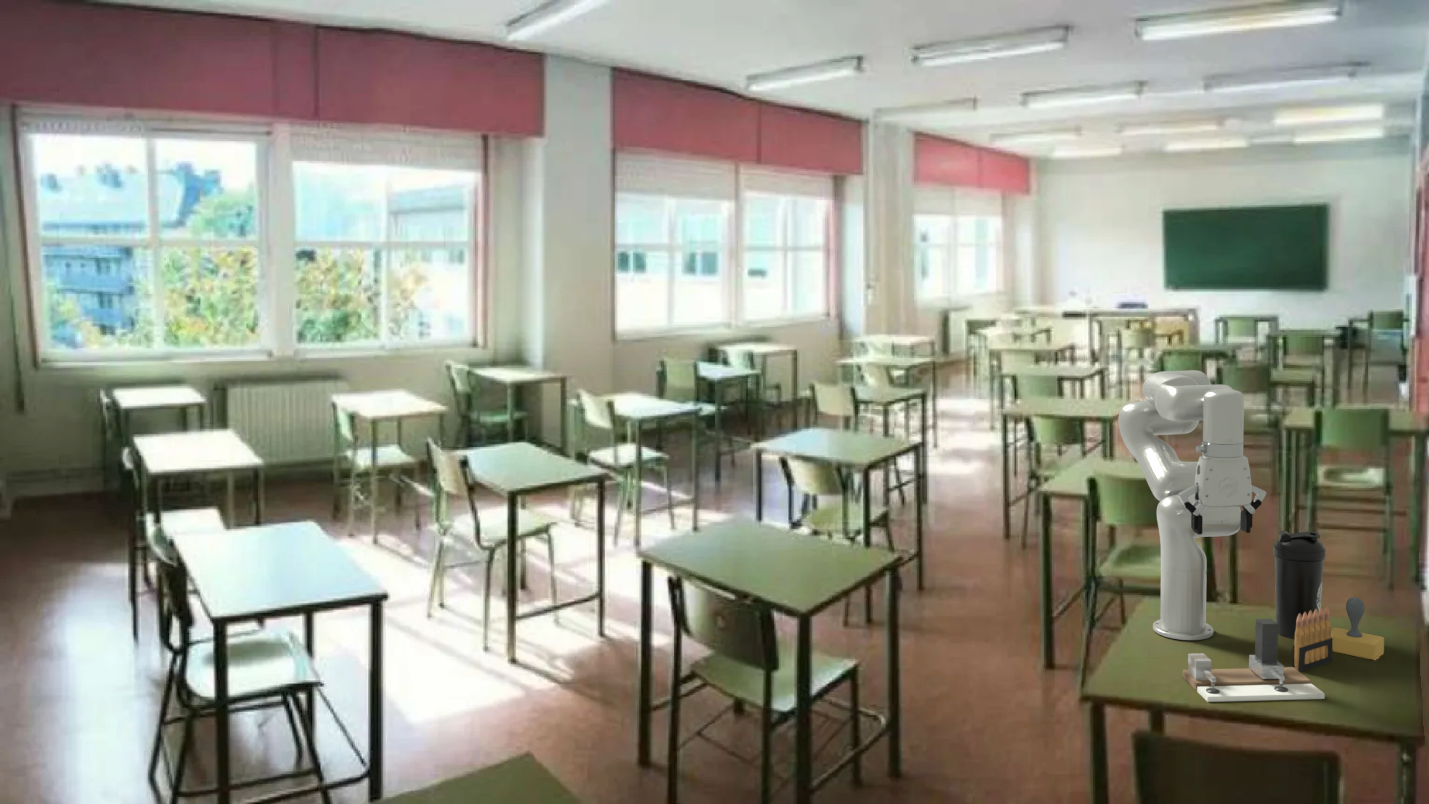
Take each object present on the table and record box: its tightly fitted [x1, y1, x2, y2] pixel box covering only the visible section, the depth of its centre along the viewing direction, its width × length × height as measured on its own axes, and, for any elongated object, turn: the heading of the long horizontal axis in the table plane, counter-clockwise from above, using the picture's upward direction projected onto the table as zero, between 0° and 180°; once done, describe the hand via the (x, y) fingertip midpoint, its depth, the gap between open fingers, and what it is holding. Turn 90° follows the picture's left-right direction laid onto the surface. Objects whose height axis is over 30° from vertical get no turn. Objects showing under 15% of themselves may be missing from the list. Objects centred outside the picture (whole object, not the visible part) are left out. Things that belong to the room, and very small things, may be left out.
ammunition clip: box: [1291, 605, 1334, 673], centre depth 225 cm, size 11×2×12 cm, turn 117°
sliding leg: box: [1248, 618, 1285, 686], centre depth 216 cm, size 10×4×11 cm, turn 178°
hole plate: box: [1196, 683, 1326, 703], centre depth 212 cm, size 5×22×1 cm, turn 88°
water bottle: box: [1272, 530, 1327, 640], centre depth 243 cm, size 10×10×23 cm
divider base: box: [1182, 652, 1311, 692], centre depth 217 cm, size 10×22×6 cm, turn 88°
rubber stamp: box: [1331, 596, 1385, 661], centre depth 232 cm, size 10×6×12 cm, turn 43°
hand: (1221, 532), depth 225 cm, fingers open, 9 cm apart
